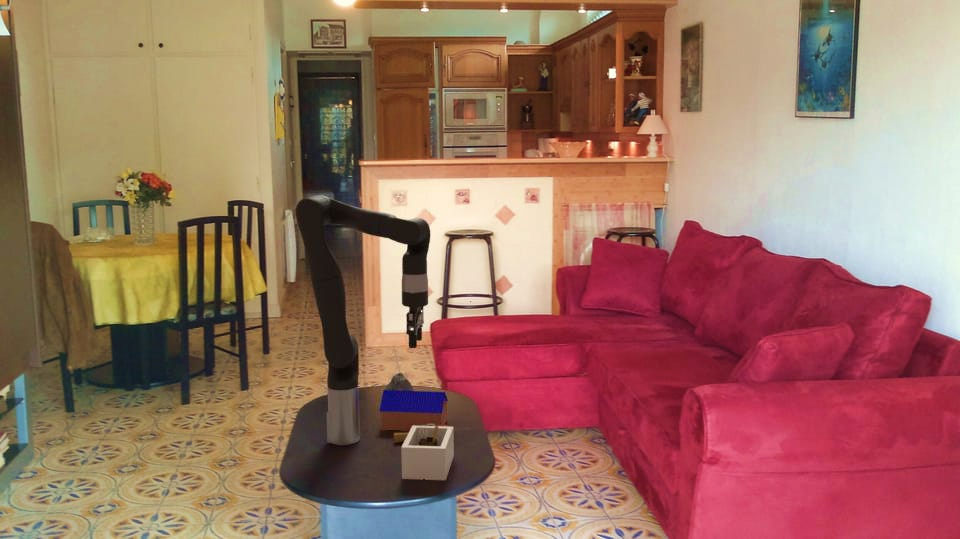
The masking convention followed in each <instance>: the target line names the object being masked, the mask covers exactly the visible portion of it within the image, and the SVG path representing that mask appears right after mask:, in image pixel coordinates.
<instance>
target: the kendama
mask: <svg viewBox="0 0 960 539" xmlns="http://www.w3.org/2000/svg"><path fill="white" fill-rule="evenodd" d="M426 426H436V425H434V424H427V425H426ZM439 426H446V427H451V426H450V425H448V424H441V425H439ZM408 433H409V432H394V433H393V441H394V443H395V444H398V443H402V442H403V443H404V441H405V439H406V437H407V435H408ZM397 442H398V443H397Z"/></svg>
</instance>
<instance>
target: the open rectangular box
mask: <svg viewBox="0 0 960 539" xmlns="http://www.w3.org/2000/svg"><path fill="white" fill-rule="evenodd" d="M420 428H421V430H420ZM434 428H435V426H427V427H426V426H423V427H422V426H412V427H411V429H410V431H408V432H407V433H408V435H407V437H406V439H405V441H403V443H402V445H401V451H400V452H401V479H402V480H423V479H425V480H429V481H447V477H448V475H449V471H450V468H451V466H452V463H453V460H454V456H455V451H454V450H455V449H454V448H455V447H454V443H455V441H454V432H455V431H454V426H450V427H446V426H438V431H437V435H436V436H435V438H436V439H437V445H438V446H419V440H420V439H421V438H424V436H425V437H426V432H427V436H428V437H434V436H433V432H434ZM423 429H424V430H423ZM435 429H436V428H435ZM426 430H428V431H426ZM420 431H421V432H420ZM419 432H420V433H419ZM423 432H424V433H423ZM421 435H422V436H421Z"/></svg>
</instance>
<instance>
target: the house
mask: <svg viewBox="0 0 960 539" xmlns="http://www.w3.org/2000/svg"><path fill="white" fill-rule="evenodd" d="M448 402H449V400H448V396H447V394H446V392H445V391H429V390H428V391H427V390H425V391H424V390H423V391H421V390H420V391H419V390H414V391H398V390H385V389H384V390H383V391H382V397H381V402H380V406H379V412H380V431H387V430H404V431H403V432H409V431H410V429H411V427H412V426H421V425H423V426H425V425H427V424H434V425H437V426H438V425H441V424H445V423H446V424H447V422H448ZM446 421H447V422H446ZM446 424H445V425H446Z"/></svg>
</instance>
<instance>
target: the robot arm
mask: <svg viewBox="0 0 960 539" xmlns="http://www.w3.org/2000/svg"><path fill="white" fill-rule="evenodd" d="M295 218H296V222H297V223H296V224H297V226H298V229H299V231H300V232H299V233H300V235H301V239H302V242H303V245H304V249H305V250H304V251H305V253H306V255H305V256H306V260H307V264H308V268H309V273H310V281H311V285H312V289H313V290H312V291H313V294H314V299H315V303H316V308H317V311H318V315H319V319H320V322H321V327H322V328H321V329H322V336H323V339H322V340H323V349H324V357H325V360H326V361H327V363H328V371H327V377H326V378H327V379H326V384H327V405H328V406H327V408H328V409H327V410H328V411H326V435H327V436H326V437H327V438H326V439H327V444H333V445H337V446H348V445H354V444H356V443H358V442H359V441H360V439H361V431H360V430H361V429H360V427H361V426H360V402H359V401H360V400H359V397H360V396H359V375H360V367H359V366H360V364H359V362H360V361H359V360H360V359H359V358H360V357H359V355H360V354H359V344H358V341H357V338H356V337H355V336H354V335H353V334H351V333H350V332H349V328H348V324H347V322H348V321H347V316H346V314H347V312H346V311H347V308H346V307H347V305H346V304H347V301H346V300H347V299H346V287H345V286H346V285H345V280H344V275H343V271H342V268H341V265H340V263H339V262H338V260H337V258H336V257H335V255H334V254H333V252H332V251H331V249H330V247H329V246H328V241H327V238H326V234H325V233H326V232H325V226H326V225H340V226H347V227H350V228H353V229H355V230H356V231H358V232H361V233H363V234H365V235H366V234H367V235H370V236H374V237H379V238H384V239H389V240H391V241H393V242H396V243H399V244H402V245H406V251H405V252H404V253H403V255H402V258H401V259H402V262H401V263H402V264H401V269H402V275H401V305H402V306H404V307H407V308H408V309H409V310H408V312H407V313H406V335H408V348H410V349H416V348H417V346H418V341H419V342H420V341H422V339H423V326H424V323H425V321H424V320H425V319H424V318H425V316H424V308H425V307H426V306H428V304H429V279H428V260H427V259H428V253H429V247H430V243H431V229H430V227H431V226H430V225H429V222H427V221H426V220H425V219H424V218H421V217H416V218H411V219H405V218H398V217H397V216H396V215H394V214H391V213H387V212H382V211H377V210H371V209H366V208H361V207H358V206H357V207H356V206H354V205H350V204H347V203H344V202H341V201H339V200H336V199H335V198H332V197H329V196H325V195H322V194H317V195H312V196H309V197H305V198H302V199H301V200H299V201H298V203H297V205H296V207H295ZM411 329H412V330H411Z"/></svg>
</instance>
